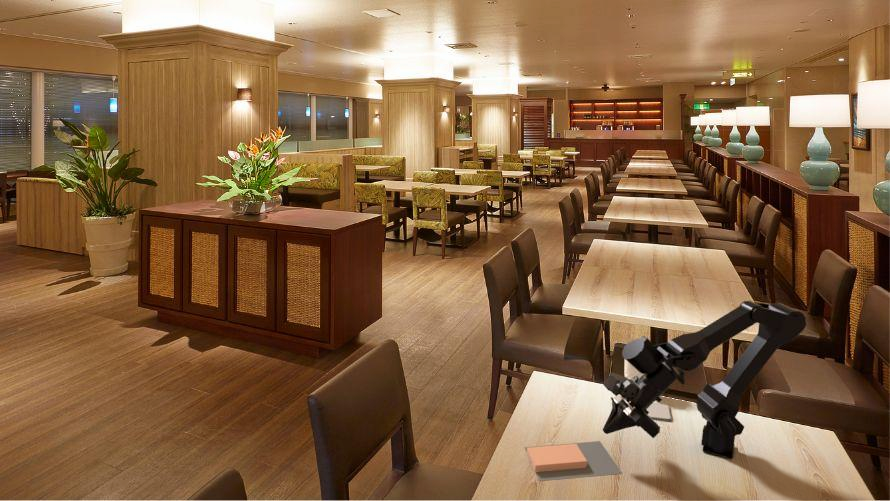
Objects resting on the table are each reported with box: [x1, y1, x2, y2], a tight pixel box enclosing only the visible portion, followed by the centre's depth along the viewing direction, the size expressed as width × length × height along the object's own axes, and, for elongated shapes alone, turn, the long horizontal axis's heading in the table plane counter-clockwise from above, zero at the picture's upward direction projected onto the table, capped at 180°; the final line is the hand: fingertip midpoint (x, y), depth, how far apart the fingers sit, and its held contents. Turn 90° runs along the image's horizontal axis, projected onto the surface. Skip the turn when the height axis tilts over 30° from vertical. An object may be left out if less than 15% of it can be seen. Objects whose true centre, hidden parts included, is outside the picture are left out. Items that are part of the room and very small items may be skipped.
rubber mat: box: [524, 440, 623, 482], centre depth 130 cm, size 19×13×1 cm
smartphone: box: [634, 402, 672, 422], centre depth 153 cm, size 8×1×15 cm
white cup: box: [623, 358, 643, 380], centre depth 165 cm, size 8×8×10 cm
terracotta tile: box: [526, 443, 587, 473], centre depth 130 cm, size 2×7×12 cm
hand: (604, 432), depth 130 cm, fingers closed
